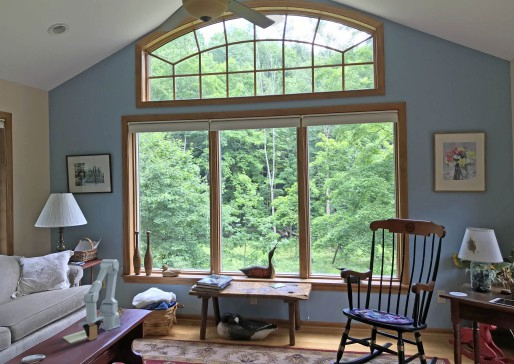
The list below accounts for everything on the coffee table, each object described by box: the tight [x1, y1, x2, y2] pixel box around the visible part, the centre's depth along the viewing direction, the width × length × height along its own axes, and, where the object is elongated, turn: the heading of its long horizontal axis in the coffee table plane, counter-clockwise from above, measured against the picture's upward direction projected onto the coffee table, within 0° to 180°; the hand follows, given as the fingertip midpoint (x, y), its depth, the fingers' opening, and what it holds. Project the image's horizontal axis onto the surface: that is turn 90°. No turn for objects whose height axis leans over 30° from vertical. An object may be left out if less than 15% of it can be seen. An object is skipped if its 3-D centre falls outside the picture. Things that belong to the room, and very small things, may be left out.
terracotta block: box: [86, 323, 98, 341], centre depth 223 cm, size 4×4×8 cm
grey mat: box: [62, 329, 87, 344], centre depth 227 cm, size 14×12×1 cm
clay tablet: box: [97, 307, 125, 323], centre depth 260 cm, size 14×5×20 cm
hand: (92, 335), depth 223 cm, fingers closed on terracotta block, 4 cm apart
